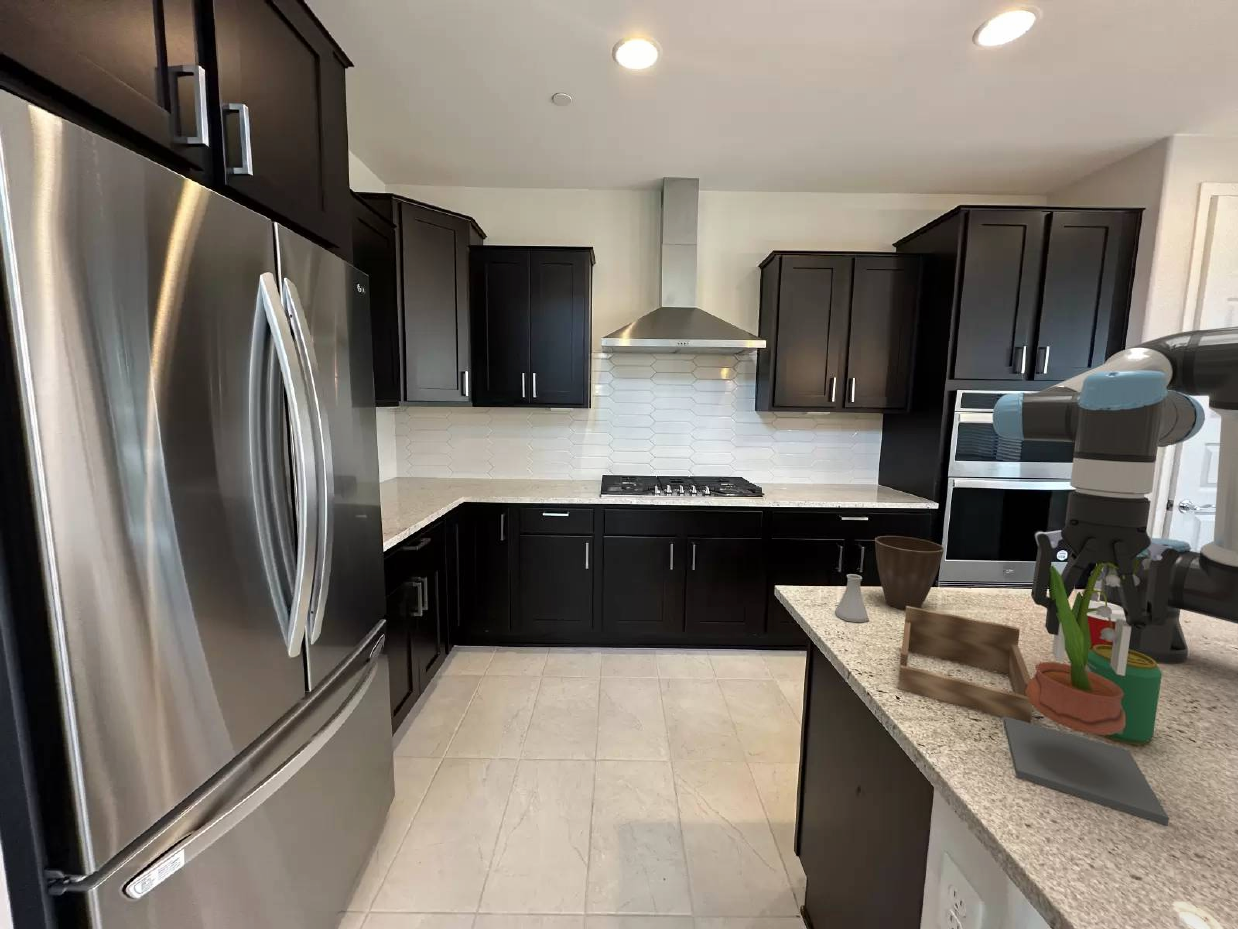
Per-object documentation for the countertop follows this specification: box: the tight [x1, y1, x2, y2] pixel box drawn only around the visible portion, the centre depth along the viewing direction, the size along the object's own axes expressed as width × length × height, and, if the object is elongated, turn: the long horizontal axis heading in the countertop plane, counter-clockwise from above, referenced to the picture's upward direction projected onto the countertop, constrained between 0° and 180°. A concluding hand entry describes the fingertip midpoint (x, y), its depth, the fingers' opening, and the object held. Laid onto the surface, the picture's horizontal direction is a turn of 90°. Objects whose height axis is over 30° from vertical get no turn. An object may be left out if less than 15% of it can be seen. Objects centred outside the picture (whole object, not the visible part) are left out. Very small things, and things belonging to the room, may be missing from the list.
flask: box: [834, 573, 870, 623], centre depth 116 cm, size 7×7×10 cm
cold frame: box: [897, 606, 1034, 723], centre depth 88 cm, size 18×18×9 cm
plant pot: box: [874, 535, 945, 610], centre depth 123 cm, size 15×15×16 cm
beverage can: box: [1085, 645, 1163, 746], centre depth 75 cm, size 8×8×12 cm
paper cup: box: [1071, 600, 1126, 668], centre depth 90 cm, size 8×8×14 cm
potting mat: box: [1002, 716, 1170, 826], centre depth 67 cm, size 14×14×1 cm
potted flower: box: [1025, 553, 1151, 736], centre depth 65 cm, size 12×10×25 cm
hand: (1086, 663), depth 66 cm, fingers open, 5 cm apart
